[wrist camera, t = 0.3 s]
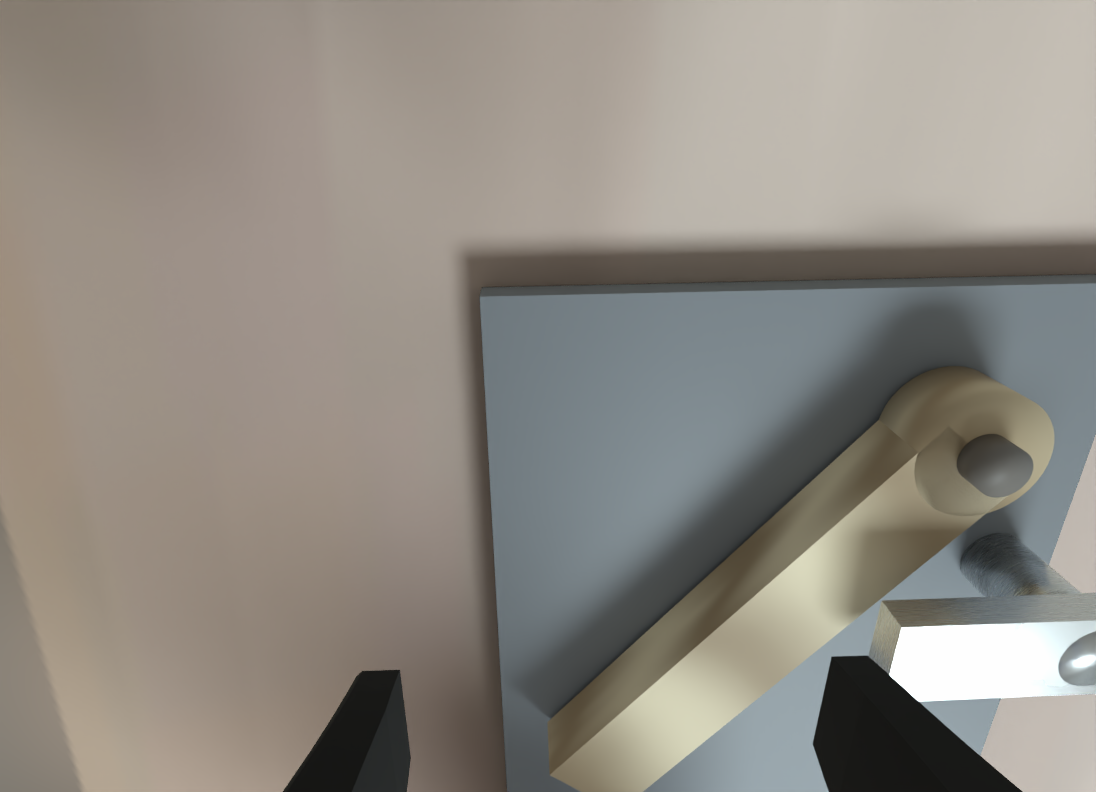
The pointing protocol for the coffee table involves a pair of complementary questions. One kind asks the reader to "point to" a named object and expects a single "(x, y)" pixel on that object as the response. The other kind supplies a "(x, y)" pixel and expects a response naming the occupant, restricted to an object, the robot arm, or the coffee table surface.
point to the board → (732, 470)
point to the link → (805, 576)
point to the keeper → (992, 631)
